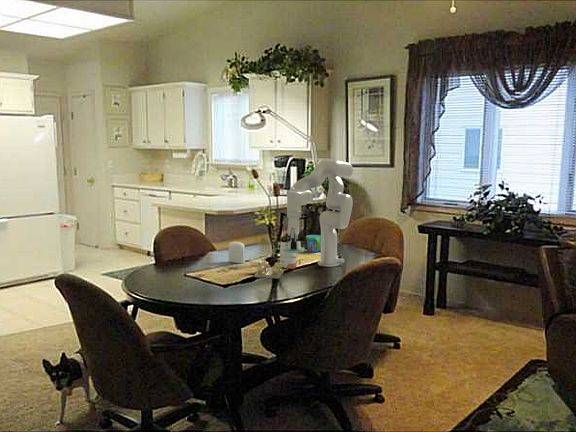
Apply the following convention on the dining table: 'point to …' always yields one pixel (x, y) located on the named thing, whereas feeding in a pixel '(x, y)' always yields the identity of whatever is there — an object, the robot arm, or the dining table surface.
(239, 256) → the photo printer
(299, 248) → the circuit board
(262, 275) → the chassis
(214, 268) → the dining table surface
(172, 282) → the dining table surface
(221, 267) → the dining table surface
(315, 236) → the snack cup
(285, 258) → the ink cartridge box
